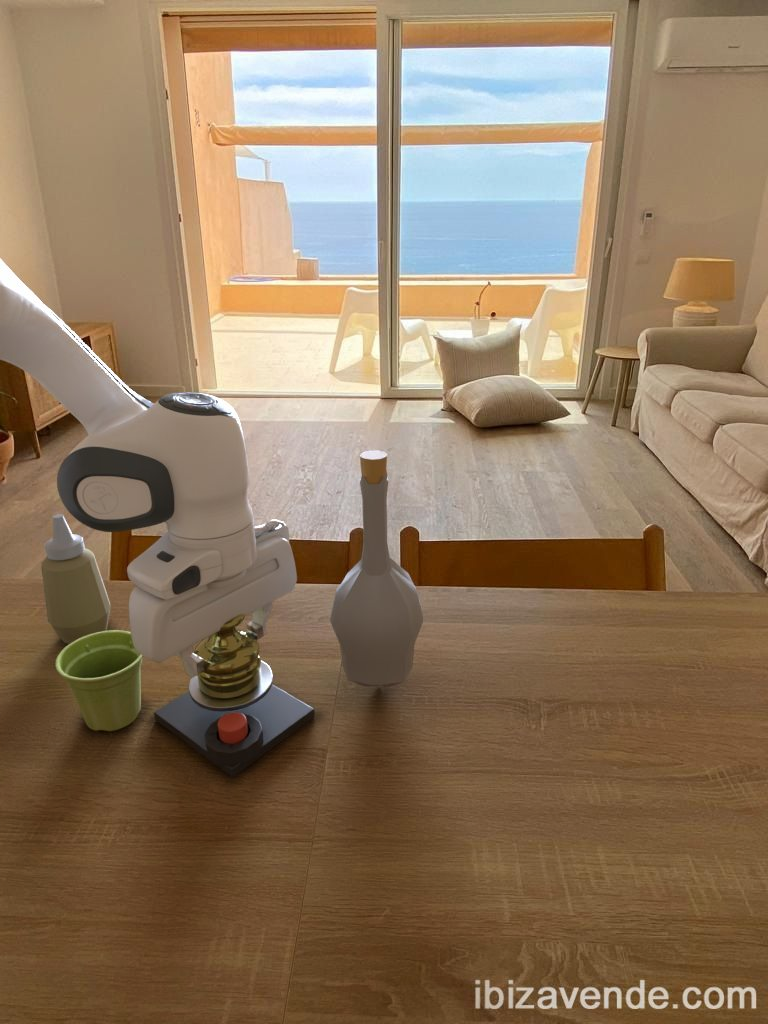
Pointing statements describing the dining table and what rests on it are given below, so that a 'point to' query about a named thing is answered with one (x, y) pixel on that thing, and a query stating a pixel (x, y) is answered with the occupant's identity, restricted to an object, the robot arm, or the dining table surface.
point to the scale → (264, 723)
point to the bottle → (376, 595)
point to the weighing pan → (235, 702)
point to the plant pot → (104, 678)
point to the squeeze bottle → (73, 585)
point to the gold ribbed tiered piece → (229, 661)
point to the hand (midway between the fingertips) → (227, 653)
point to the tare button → (232, 728)
